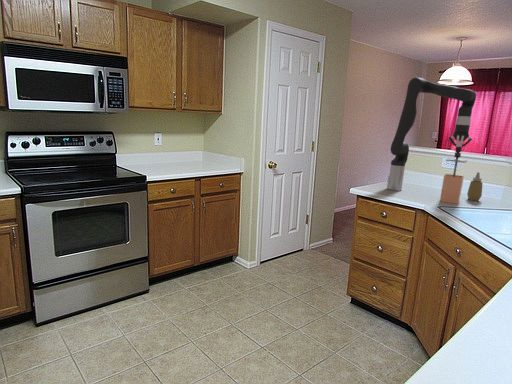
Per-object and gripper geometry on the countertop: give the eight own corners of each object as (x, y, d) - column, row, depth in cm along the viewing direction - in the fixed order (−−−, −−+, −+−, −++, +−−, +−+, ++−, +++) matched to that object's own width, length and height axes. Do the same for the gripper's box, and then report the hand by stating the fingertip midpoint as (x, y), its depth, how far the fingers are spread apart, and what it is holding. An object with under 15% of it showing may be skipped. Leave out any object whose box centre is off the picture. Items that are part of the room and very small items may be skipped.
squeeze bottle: (473, 201, 231) (478, 173, 227) (463, 198, 239) (468, 171, 235) (483, 201, 234) (489, 173, 230) (473, 198, 241) (478, 171, 237)
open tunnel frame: (439, 201, 228) (444, 175, 224) (442, 198, 236) (446, 173, 233) (457, 204, 223) (462, 178, 219) (459, 201, 231) (463, 176, 227)
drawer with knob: (442, 184, 226) (447, 152, 221) (444, 182, 234) (449, 151, 230) (461, 187, 220) (467, 154, 216) (462, 185, 229) (468, 153, 224)
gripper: (449, 123, 220) (445, 152, 223) (475, 124, 213) (469, 154, 216) (451, 123, 226) (446, 151, 229) (475, 124, 219) (470, 153, 222)
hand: (457, 153), depth 223 cm, fingers closed
